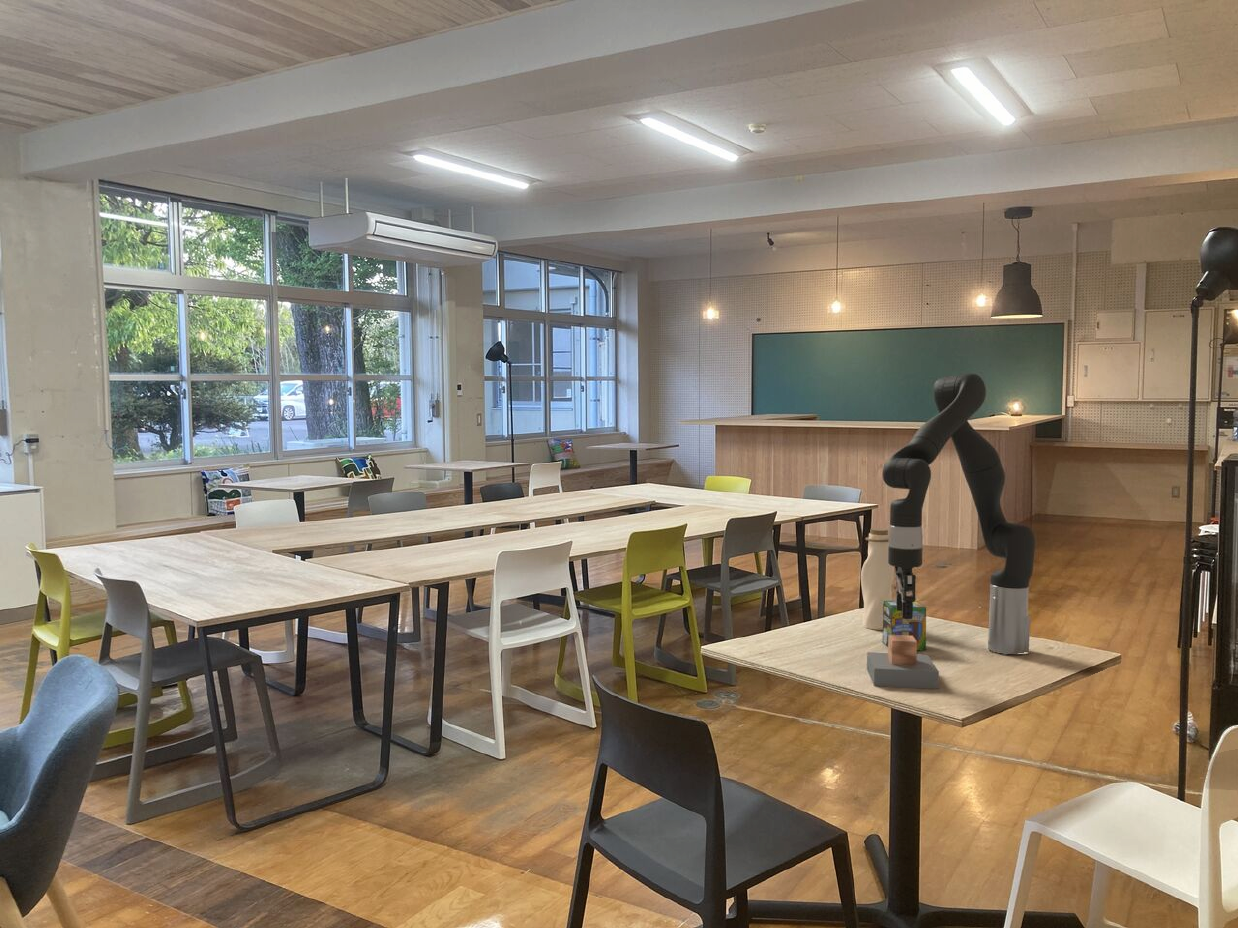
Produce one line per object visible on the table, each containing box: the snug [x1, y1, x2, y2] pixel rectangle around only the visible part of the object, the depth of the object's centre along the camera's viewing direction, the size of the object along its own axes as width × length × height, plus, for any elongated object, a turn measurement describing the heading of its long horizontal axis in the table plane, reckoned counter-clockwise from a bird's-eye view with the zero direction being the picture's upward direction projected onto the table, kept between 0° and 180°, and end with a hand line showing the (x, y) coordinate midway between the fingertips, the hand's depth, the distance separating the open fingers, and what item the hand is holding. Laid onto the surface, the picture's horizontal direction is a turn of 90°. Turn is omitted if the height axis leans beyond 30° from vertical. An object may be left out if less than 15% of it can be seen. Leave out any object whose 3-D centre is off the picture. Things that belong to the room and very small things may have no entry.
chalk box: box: [882, 599, 927, 651], centre depth 248 cm, size 9×9×15 cm
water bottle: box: [860, 527, 895, 631], centre depth 270 cm, size 10×9×28 cm
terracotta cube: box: [887, 635, 918, 665], centre depth 219 cm, size 6×6×6 cm
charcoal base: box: [866, 651, 940, 690], centre depth 220 cm, size 14×14×4 cm
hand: (904, 614), depth 219 cm, fingers open, 8 cm apart
